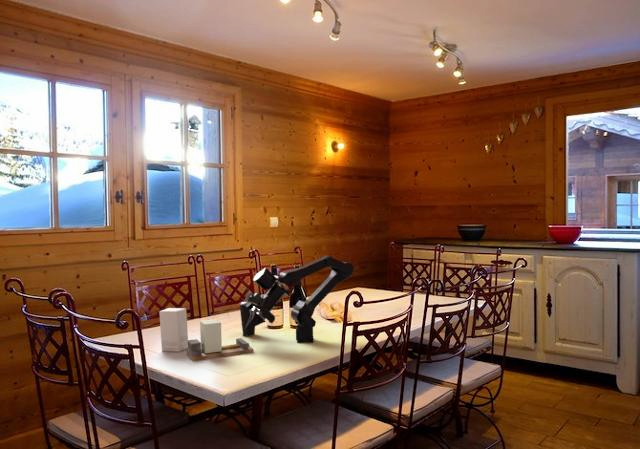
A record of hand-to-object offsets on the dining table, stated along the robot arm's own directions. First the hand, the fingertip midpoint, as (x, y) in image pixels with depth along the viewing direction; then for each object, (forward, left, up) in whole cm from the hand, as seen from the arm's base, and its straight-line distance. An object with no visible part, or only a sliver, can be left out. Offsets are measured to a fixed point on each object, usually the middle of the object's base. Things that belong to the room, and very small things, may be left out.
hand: (245, 329), depth 197 cm
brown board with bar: (+9, +4, -7) cm, 13 cm away
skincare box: (+28, -2, -8) cm, 29 cm away
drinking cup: (+2, -22, -8) cm, 24 cm away
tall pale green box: (+12, +6, -6) cm, 15 cm away
